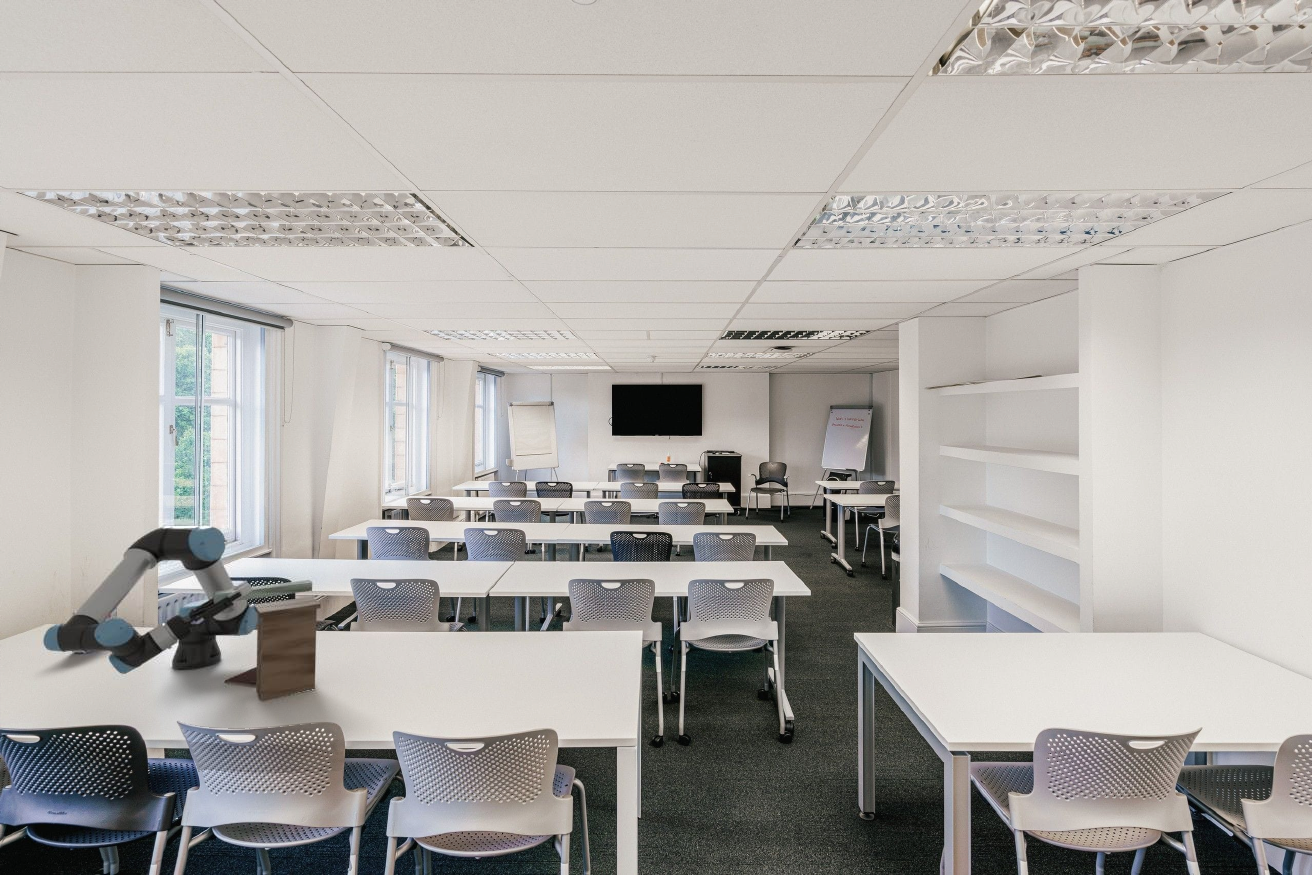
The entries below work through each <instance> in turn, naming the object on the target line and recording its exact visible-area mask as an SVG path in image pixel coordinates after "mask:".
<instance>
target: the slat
mask: <svg viewBox="0 0 1312 875" xmlns="http://www.w3.org/2000/svg"><path fill="white" fill-rule="evenodd" d="M251 587H252V589H253V591H251V592H249V593H248V594H246V595H244V596H243V597H241V598H239V599H238V600H236V601H239V600H247V601H248V600H253V599H259V598H269V597H276V596H282V595H283V596H284V595H290V594H299V593H305V592H306V593H307V592H312V591H313V581H312V580H310V579H306V580H298V581H291V582H281V583H273V584H267V585H266V584H265V585H258V586H251ZM236 590H238V589H233V590H224V591H216V592H213V601H214V603H217V602H219V601H221V600H223V599H224V598H226V597H228V595H229V594H231V593H233V592H234V591H236Z"/></svg>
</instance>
